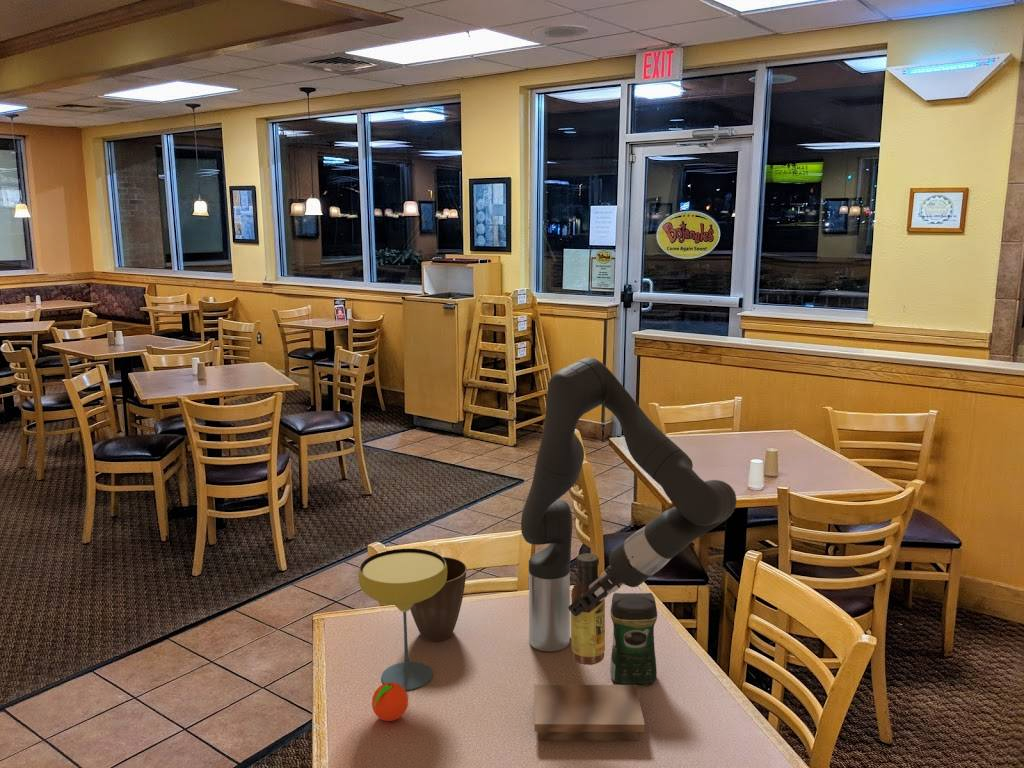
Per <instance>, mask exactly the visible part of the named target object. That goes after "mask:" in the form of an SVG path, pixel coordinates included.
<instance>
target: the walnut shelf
mask: <svg viewBox="0 0 1024 768" xmlns="http://www.w3.org/2000/svg"><path fill="white" fill-rule="evenodd" d="M533 694H534V695H533V696H534V697H533V698H534V699H533V700H534V701H533V704H534V705H533V706H534V708H533V709H534V710H533V711H534V712H533V713H534V717H533V718H534V722H533V723H534V732H536V733H537V732H538V733H539V741H548V742H549V741H551V742H555V741H557V740H559V741H564V742H565V741H567V742H569V741H570V742H572V741H575V742H580V741H582V742H586V741H587V742H592V741H593V742H595V741H596V742H597V741H598V742H600V741H601V742H610V741H611V742H626V741H627V742H638V741H639V733H645V732H646V731H645V730H646V723H645V719H644V716H643V715H644V714H643V711H642V707H641V702H640V698H639V694H638V690H637V686H636V685H619V684H533ZM620 740H622V741H620ZM625 740H626V741H625ZM630 740H631V741H630Z"/></svg>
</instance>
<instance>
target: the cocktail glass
mask: <svg viewBox="0 0 1024 768" xmlns="http://www.w3.org/2000/svg"><path fill="white" fill-rule="evenodd" d="M443 557H444V556H442V555H440V554H438V553H436V552H434V551H431V550H428V549H427V550H426V549H422V548H398V549H391V550H385V551H381V552H379V553H376V554H373V555H370V556H369V557H367V558H366V559H364V561H362V562H361V564H360V566H359V569H358V583H359V587H360V590H362V592H363V593H364V594H365V595H366V596H368V597H369V598H371V599H372V600H374V601H377V602H379V603H383V604H387V605H391V606H392V605H393V606H395V607H396V608H397V609H398V611H400V612H401V613H402V618H403V639H404V641H403V643H404V644H403V646H404V647H403V648H404V649H403V650H404V658H403V659H404V661H402V662H398V663H395V664H392V665H390V666H389V667H387V668H386V669H384V671H383V672H382V674H381V676H380V679H381V682H382V685H383V684H385V683H390V682H392V683H396V684H399V685H401V686H402V687H403V688H404V689H405V691H412V690H416V689H420V688H422V687H424V686H426V685H427V684H428V683H429V682H431V681H432V678H433V674H434V672H433V670H432V668H431V667H430V666H429V665H427V664H426V663H422V662H418V661H410V659H409V647H408V627H407V626H408V625H407V624H408V623H407V620H408V619H407V612H408V611H411V610H410V608H411V607H412V606H413V604H415V603H418V602H421V601H423V600H426V599H428V598H430V597H432V596H433V595H435V594H436V593H437V592H438V591H439V590H441V588H442V587H443V586H444V585H445V582H446V580H447V565H446V561H445V560H444V558H443Z"/></svg>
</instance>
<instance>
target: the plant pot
mask: <svg viewBox="0 0 1024 768" xmlns="http://www.w3.org/2000/svg"><path fill="white" fill-rule="evenodd" d="M442 557H443V558H444V560H445V561H446V565H447V580H446V582H445V585H444V586H443V587H442V588H441V590H439V591H438V592H437V593H436V594H435V595H433V596H432V597H430V598H428V599H426V600H423V601H421V602H418V603H415V604H413V606H412V607H411V608H410V610H409V611H410V613H411V615H412V618H413V620H414V623H415V625H416V628H417V630H418V632H419V635H420V637H422V639H424V640H425V641H429V642H440V641H444V640H447V639H449V638H450V637H452V635H453V633H454V630H455V628H456V625H457V622H458V619H459V615H460V611H461V607H462V603H463V598H464V593H465V588H466V587H465V586H466V581H467V579H466V578H467V571H468V569H467V568H468V567H467V565H466V564H465V563H464V562H463V561H461V560H459V559H456V558H453V557H447V556H442Z"/></svg>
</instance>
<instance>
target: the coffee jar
mask: <svg viewBox="0 0 1024 768" xmlns="http://www.w3.org/2000/svg"><path fill="white" fill-rule="evenodd" d="M657 608H658V607H657V603H656V599H655V596H654V595H653V593H652V592H648V593H647V592H645V593H644V592H640V593H638V592H634V593H633V592H630V593H628V592H625V593H623V592H621V593H619V592H613V595H612V599H611V605H610V611H609V612H610V618H611V622H612V624H613V625H612V626H613V633H612V646H611V655H610V656H611V657H610V664H609V665H610V667H609V668H610V670H609V673H610V678H611V679H612V681H614V683H615V684H616V685H636V687H637V686H638V687H640V686H641V687H642V686H650V685H653V684H654V683H655V682H656V681H657V677H658V675H657V662H656V661H657V660H656V650H655V637H654V636H655V633H654V631H655V629H654V627H655V624H656V622H657V620H658V611H657V610H658V609H657Z"/></svg>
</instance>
